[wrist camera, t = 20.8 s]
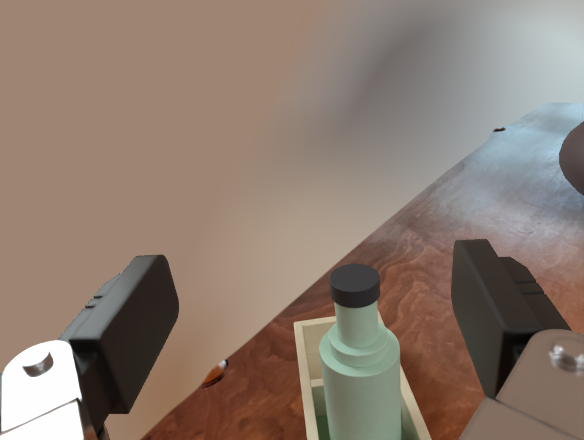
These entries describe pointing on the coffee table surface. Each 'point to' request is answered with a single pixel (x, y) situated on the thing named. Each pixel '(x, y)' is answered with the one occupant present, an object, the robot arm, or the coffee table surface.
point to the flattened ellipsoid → (573, 158)
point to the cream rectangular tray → (312, 387)
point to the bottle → (360, 361)
